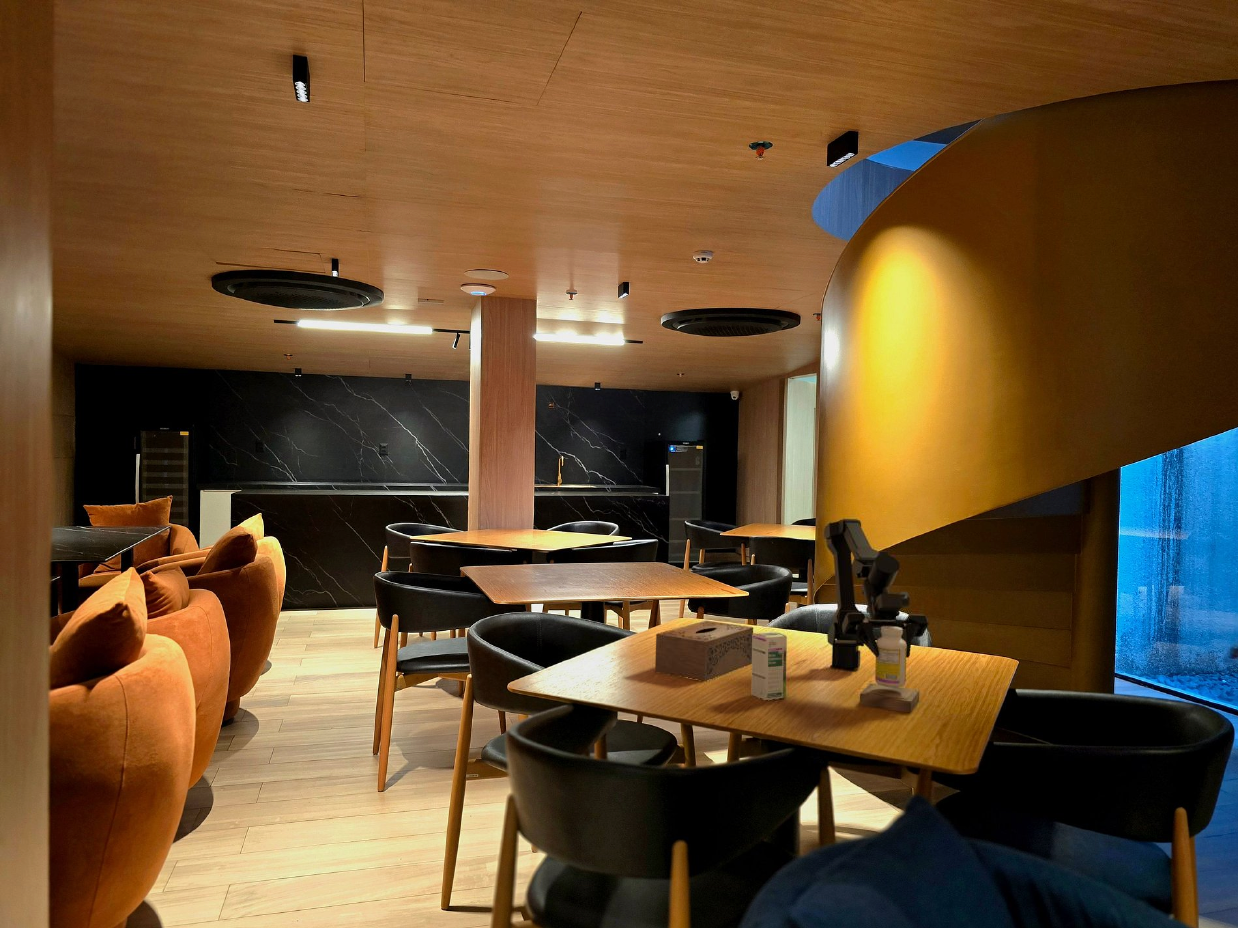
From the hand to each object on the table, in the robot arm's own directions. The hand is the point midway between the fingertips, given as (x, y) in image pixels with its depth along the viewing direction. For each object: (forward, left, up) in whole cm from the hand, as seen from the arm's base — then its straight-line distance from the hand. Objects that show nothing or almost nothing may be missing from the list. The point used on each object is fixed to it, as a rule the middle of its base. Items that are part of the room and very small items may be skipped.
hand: (893, 656), depth 191 cm
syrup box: (-26, -10, -11) cm, 30 cm away
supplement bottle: (-1, +1, -7) cm, 7 cm away
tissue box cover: (-49, +8, -11) cm, 50 cm away
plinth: (-1, +1, -11) cm, 11 cm away
